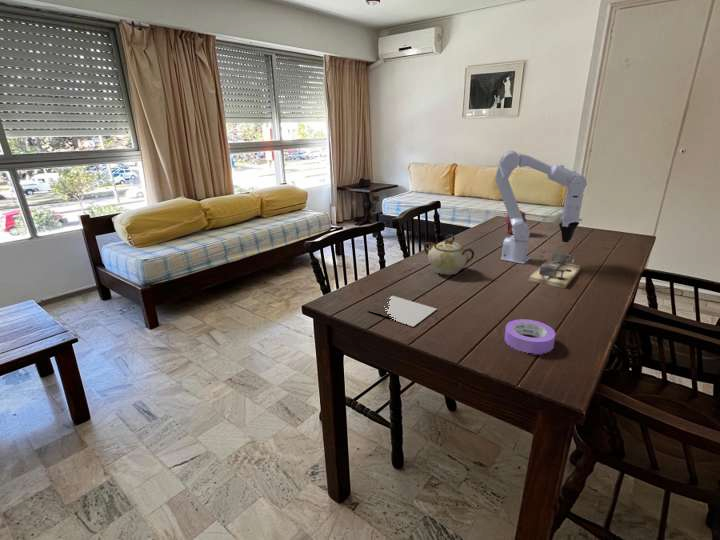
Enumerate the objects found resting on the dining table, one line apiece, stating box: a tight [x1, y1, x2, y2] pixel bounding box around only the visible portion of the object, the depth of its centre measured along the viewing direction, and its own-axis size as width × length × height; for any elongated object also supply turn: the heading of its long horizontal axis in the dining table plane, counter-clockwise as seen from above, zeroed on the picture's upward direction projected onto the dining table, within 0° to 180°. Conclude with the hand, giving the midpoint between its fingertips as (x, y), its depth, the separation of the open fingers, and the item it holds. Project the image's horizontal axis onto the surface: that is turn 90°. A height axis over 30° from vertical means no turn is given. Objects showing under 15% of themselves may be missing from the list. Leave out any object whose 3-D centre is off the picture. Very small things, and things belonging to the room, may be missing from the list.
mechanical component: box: [504, 209, 527, 235], centre depth 193 cm, size 12×10×10 cm
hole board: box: [528, 259, 582, 289], centre depth 140 cm, size 12×23×5 cm, turn 140°
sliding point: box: [551, 251, 577, 264], centre depth 146 cm, size 8×3×3 cm, turn 50°
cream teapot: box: [423, 233, 475, 276], centre depth 144 cm, size 20×15×15 cm
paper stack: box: [384, 295, 437, 328], centre depth 117 cm, size 23×25×1 cm
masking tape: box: [504, 318, 556, 355], centre depth 97 cm, size 12×12×4 cm
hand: (566, 240), depth 149 cm, fingers open, 3 cm apart
